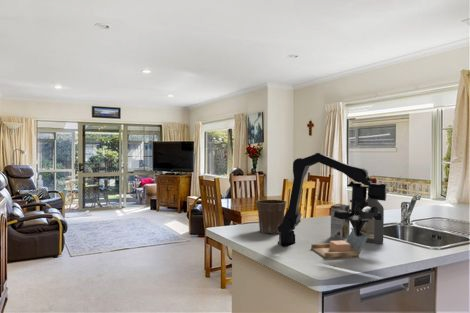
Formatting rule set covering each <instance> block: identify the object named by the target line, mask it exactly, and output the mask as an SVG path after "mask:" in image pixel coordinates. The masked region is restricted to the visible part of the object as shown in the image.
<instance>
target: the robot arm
mask: <svg viewBox="0 0 470 313" xmlns="http://www.w3.org/2000/svg"><path fill="white" fill-rule="evenodd" d="M318 163H319V164H322V165H324V166H327V167H329V168H330V169H333V170H336V171H338V172H341V173H342V174H344V175H346V176H347V177H348V178H349V179H351V181H350V182H349V183H348V184H347V185H346V186H347V187H349V188H350V187H351V199H349V203H351V204H350V210H349V212H350V213H349V212H346V211H344V210H336V211H335V212H334V217H336V218H338V219H348V220H350V224H351V226H352V229H353V230H354V232H355V235H356V236H358V235H359V233H360V231H361V228H362V226H363V225H364V224H365V223H366V222H368V221H369V220H367V219H370V220H371V219H373V218H374V219H375V220H382V214H381V213H379V212H378V208H377V207H368V202H366V200H367V198H368V197H370V198H371V199H372V200H378V201H383V202H386V201H387V193H388V192H387V184H386V183H376V184H375V183H372V181H371V180H370V179H369V178H370V176H369V172H368V170H367V169H365V168H363V167H360V166H355V165H352V164H351V165H350V164H347V163H345V162H342V161H340V160H337V159H335V158H334V157H333V158H332V157H330V156H327V155H325V154H324V153H322V152H315V153H314V154H312V155H310V156H306V157H300V158H296V159H294V160H293V162H292V174H293V182H292V187H291V193H290V198H289V204H288V208H287V210H286V211H285V213H284V219H283V223H282V224H281V225H280V226H278V231H279V234H278V241H277V243H278V244H279V246H281V247H291V246H293V245H295V244H296V234H295V229H296V227H297V226H298V225H299V224H300V223H301V217H302V215H303V214H302V213H301V212H300V213H299V206H300V201H301V197H302V196H301V195H302V191H303V184H304V181H305V178H306V176H307V173H308V172H309V168H310V167H311V166H314V165H316V164H318ZM368 186H370V187H368Z"/></svg>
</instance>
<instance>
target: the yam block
mask: <svg viewBox="0 0 470 313" xmlns="http://www.w3.org/2000/svg"><path fill="white" fill-rule="evenodd" d="M329 243H330V250H332V251H333V252H350V244H349V243H347V242H346V241H345V240H344V239H340V240H330V241H329Z"/></svg>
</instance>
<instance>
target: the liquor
mask: <svg viewBox="0 0 470 313" xmlns="http://www.w3.org/2000/svg"><path fill="white" fill-rule="evenodd" d="M369 179H370V180H371V181H372V183H375V184H377V178H372V177H371V178H370V177H369ZM368 187H370V186H368ZM379 201H380V200H372V199H371V198H370V197H368V196H367V198H366V202H368V207H377V208H378V212H379V213H381V214H382V220H375V219H374V218H373V219H371V220H370V219H367V220H369V221H368V222H366V223H365V224H364V225H363V226H362V228H361V231H360V233H362V234H365V235H367V236H368V238H367V240H366V242H365V244H367V243H368V244H372V245H374V244H375V245H383V243H384V218H385V216H384V215H385V214H384V211H385V210H384V209H385V208H384V206H383V204H382V203H381V202H379Z"/></svg>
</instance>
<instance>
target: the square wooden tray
mask: <svg viewBox="0 0 470 313" xmlns="http://www.w3.org/2000/svg"><path fill="white" fill-rule="evenodd" d="M310 248H311V250H312V251H313V252H315V253H316V254H317V255H319V256H321V257H322V258H323V259H325V260H331V259H348V258H349V259H350V258H352V259H353V258H354V259H355V258H359V257H360V254H359V252H358V251H351V252H333V251H332V250H330V242H329V243H311V247H310Z"/></svg>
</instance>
